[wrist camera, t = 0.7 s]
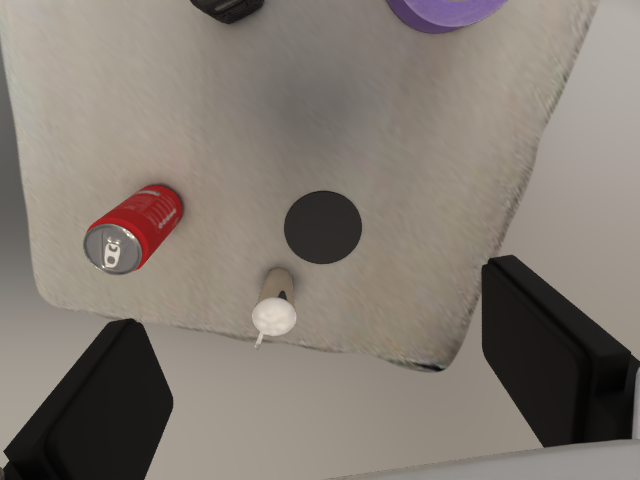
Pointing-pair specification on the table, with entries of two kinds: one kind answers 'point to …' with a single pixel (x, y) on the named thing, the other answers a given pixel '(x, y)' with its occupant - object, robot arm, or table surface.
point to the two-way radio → (228, 8)
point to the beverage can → (132, 230)
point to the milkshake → (275, 305)
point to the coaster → (323, 227)
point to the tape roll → (443, 13)
